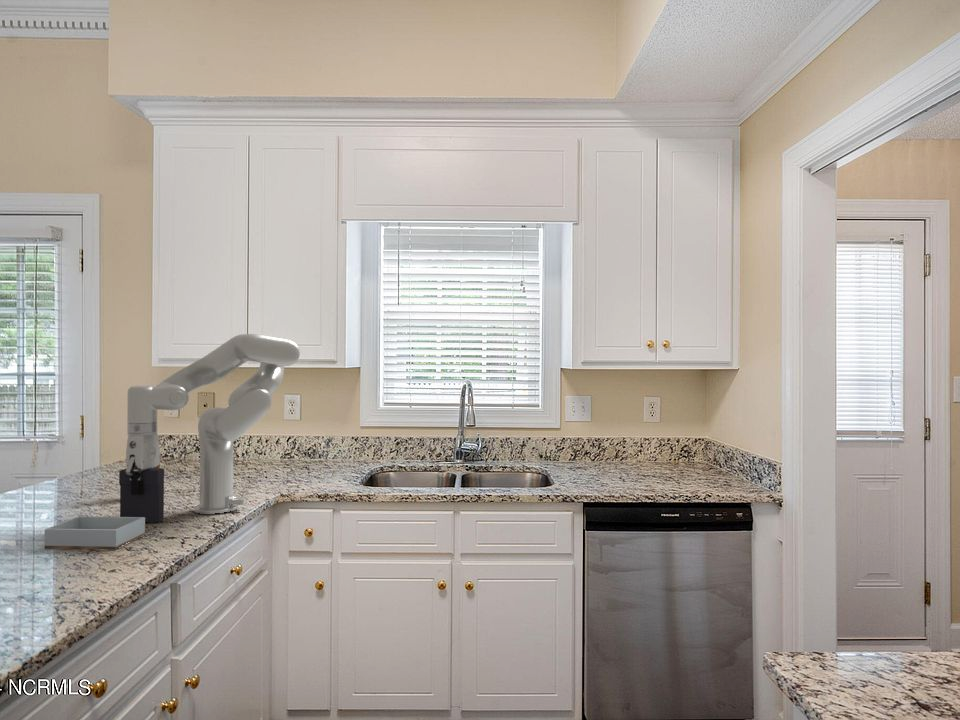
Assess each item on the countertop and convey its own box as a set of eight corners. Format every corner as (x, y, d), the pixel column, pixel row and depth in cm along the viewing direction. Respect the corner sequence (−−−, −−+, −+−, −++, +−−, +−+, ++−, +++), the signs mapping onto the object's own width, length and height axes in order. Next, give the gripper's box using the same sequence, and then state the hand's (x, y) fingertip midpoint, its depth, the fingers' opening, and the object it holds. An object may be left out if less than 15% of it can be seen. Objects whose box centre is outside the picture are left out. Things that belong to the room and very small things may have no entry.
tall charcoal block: (165, 519, 179) (165, 467, 180) (157, 523, 175) (158, 470, 175) (126, 519, 179) (127, 467, 179) (118, 523, 175) (118, 470, 175)
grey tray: (144, 532, 163) (145, 517, 163) (116, 546, 151) (116, 530, 151) (78, 531, 164) (79, 516, 164) (44, 545, 151) (44, 529, 151)
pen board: (144, 535, 163) (144, 532, 163) (115, 550, 151) (116, 546, 151) (78, 534, 164) (78, 531, 164) (44, 548, 151) (44, 545, 151)
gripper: (138, 432, 169) (138, 499, 169) (170, 425, 186) (170, 486, 186) (111, 432, 169) (111, 499, 169) (145, 425, 186) (145, 486, 186)
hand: (142, 491), depth 177 cm, fingers closed on tall charcoal block, 4 cm apart
